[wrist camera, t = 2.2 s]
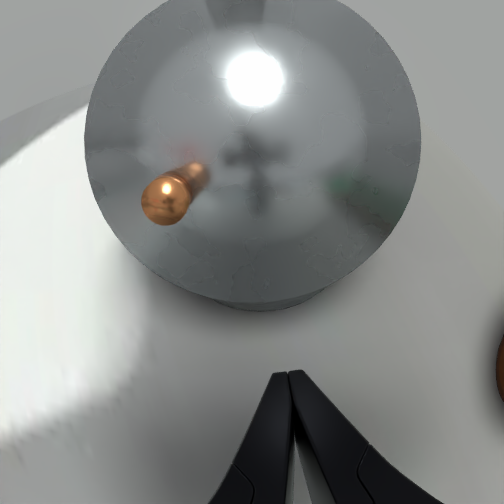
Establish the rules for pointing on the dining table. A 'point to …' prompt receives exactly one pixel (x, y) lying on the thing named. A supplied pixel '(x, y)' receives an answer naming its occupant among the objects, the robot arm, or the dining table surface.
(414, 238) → the dining table surface
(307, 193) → the cooker lid
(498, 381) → the food container
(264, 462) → the robot arm
